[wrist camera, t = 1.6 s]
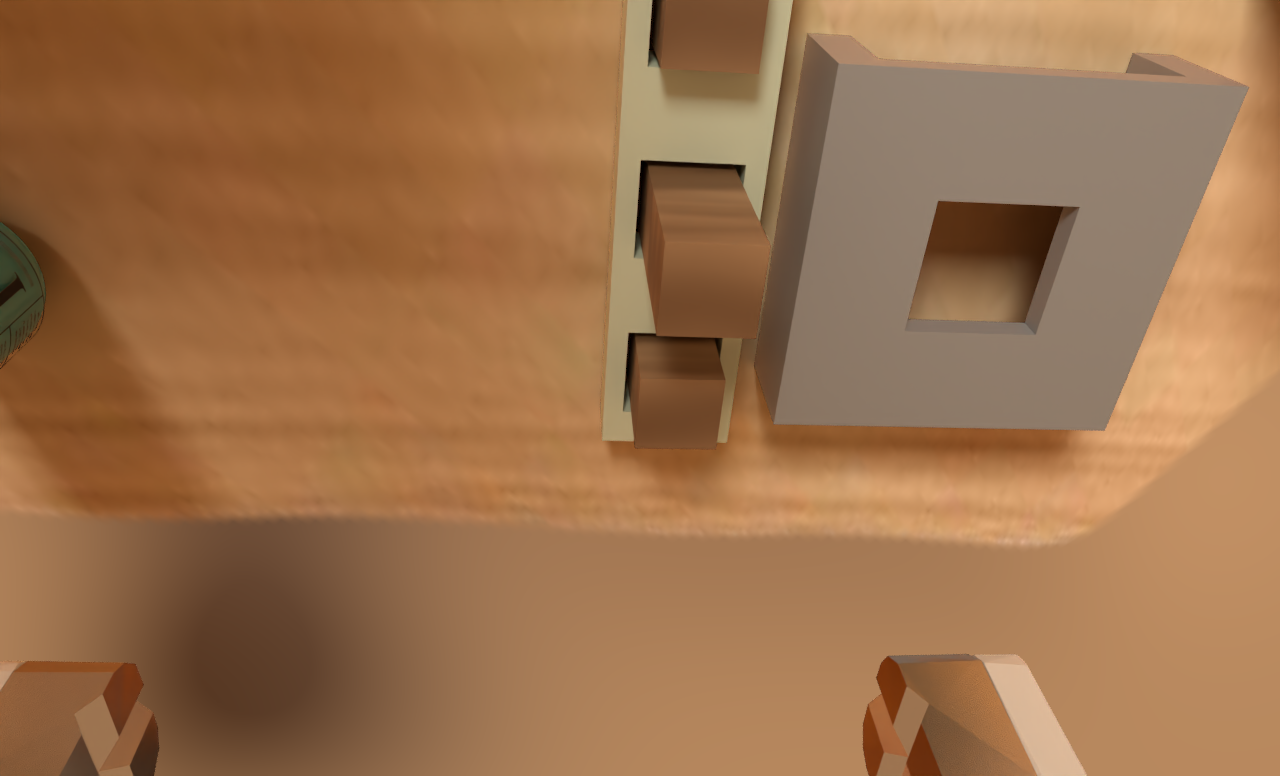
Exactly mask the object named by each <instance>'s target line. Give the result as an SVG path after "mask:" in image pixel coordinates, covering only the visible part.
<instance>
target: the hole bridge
mask: <svg viewBox="0 0 1280 776" xmlns="http://www.w3.org/2000/svg"><path fill="white" fill-rule="evenodd" d="M1248 88H1249V87H1248V86H1246V85H1243V84H1241V83H1238V82H1236V81H1234V80H1231V79H1229V78H1226V77H1224V76H1222V75H1219V74H1217V73H1214V72H1212V71H1210V70H1207V69H1205V68H1202V67H1200V66H1198V65H1195V64H1193V63H1190V62H1188V61H1186V60H1183V59H1181V58H1179V57H1176V56H1174V55H1159V54H1142V53H1133V55H1132V58H1131V60H1130V63H1129V66H1128V69H1127V72H1126V73H1114V72H1096V71H1079V70H1062V69H1045V68H1027V67H1010V66H993V65H976V64H958V63H941V62H924V61H907V60H890V59H878V58H877V57H876V56H874V55H873V54H872V53H871V52H870V51H868V50H867V49H866V48H865V47H864V46H862V45H861V44H860V43H859V42H857V41H856V40H855V39H854V38H853V37H851V36H843V35H827V34H810V33H807V39H806V45H805V51H804V58H803V64H802V70H801V76H800V83H799V89H798V95H797V101H796V108H795V114H794V120H793V126H792V133H791V139H790V145H789V151H788V158H787V164H786V170H785V176H784V183H783V189H782V195H781V201H780V208H779V214H778V220H777V226H776V233H775V239H774V245H773V251H772V258H771V264H770V270H769V276H768V283H767V289H766V295H765V301H764V308H763V314H762V320H761V326H760V333H759V339H758V345H757V351H756V358H755V364H754V367H755V370H756V373H757V376H758V379H759V382H760V385H761V388H762V391H763V394H764V397H765V400H766V403H767V406H768V409H769V412H770V415H771V418H772V421H773V424H780V425H833V426H886V427H939V428H992V429H1045V430H1098V431H1105V429H1106V426H1107V424H1108V422H1109V419H1110V417H1111V414H1112V412H1113V410H1114V407H1115V405H1116V402H1117V400H1118V398H1119V395H1120V393H1121V391H1122V388H1123V386H1124V383H1125V381H1126V379H1127V376H1128V374H1129V372H1130V369H1131V367H1132V364H1133V362H1134V360H1135V357H1136V355H1137V353H1138V350H1139V348H1140V345H1141V343H1142V341H1143V338H1144V336H1145V333H1146V331H1147V329H1148V326H1149V324H1150V322H1151V319H1152V317H1153V314H1154V312H1155V310H1156V307H1157V305H1158V303H1159V300H1160V298H1161V295H1162V293H1163V291H1164V288H1165V286H1166V284H1167V281H1168V279H1169V276H1170V274H1171V272H1172V269H1173V267H1174V264H1175V262H1176V260H1177V257H1178V255H1179V253H1180V250H1181V248H1182V245H1183V243H1184V241H1185V238H1186V236H1187V234H1188V231H1189V229H1190V226H1191V224H1192V222H1193V219H1194V217H1195V215H1196V212H1197V210H1198V207H1199V205H1200V203H1201V200H1202V198H1203V196H1204V193H1205V191H1206V188H1207V186H1208V184H1209V181H1210V179H1211V176H1212V174H1213V172H1214V169H1215V167H1216V165H1217V162H1218V160H1219V157H1220V155H1221V153H1222V150H1223V148H1224V146H1225V143H1226V141H1227V138H1228V136H1229V134H1230V131H1231V129H1232V127H1233V124H1234V122H1235V119H1236V117H1237V115H1238V112H1239V110H1240V107H1241V105H1242V103H1243V100H1244V98H1245V96H1246V93H1247V91H1248ZM938 201H953V202H976V203H999V204H1022V205H1046V206H1064V207H1063V210H1062V213H1061V216H1060V219H1059V222H1058V225H1057V228H1056V231H1055V234H1054V237H1053V240H1052V243H1051V246H1050V249H1049V252H1048V255H1047V257H1046V260H1045V263H1044V266H1043V269H1042V272H1041V275H1040V278H1039V281H1038V284H1037V287H1036V290H1035V293H1034V296H1033V299H1032V302H1031V305H1030V308H1029V311H1028V314H1027V317H1026V320H1025V323H1018V322H985V321H952V320H919V319H908V316H909V312H910V309H911V305H912V301H913V297H914V293H915V289H916V285H917V281H918V278H919V274H920V270H921V266H922V262H923V258H924V254H925V250H926V246H927V243H928V239H929V235H930V231H931V227H932V223H933V219H934V215H935V212H936V208H937V204H938Z"/></svg>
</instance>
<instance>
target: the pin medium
mask: <svg viewBox="0 0 1280 776" xmlns="http://www.w3.org/2000/svg"><path fill="white" fill-rule="evenodd" d="M627 379H628V388H629V398H630V407H631V416H632V426H633V435H634V444H635V448H654V449H716V446H717V439H718V432H719V425H720V418H721V411H722V404H723V397H724V390H725V383H726V379H725V376H724V372H723V369H722V365H721V361H720V358H719V354H718V351H717V347H716V343H715V340H714V338H710V337H674V336H656V333H630V339H629V353H628V367H627Z"/></svg>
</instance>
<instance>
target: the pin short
mask: <svg viewBox="0 0 1280 776" xmlns="http://www.w3.org/2000/svg"><path fill="white" fill-rule="evenodd" d="M768 4H769V0H654V9H653V23H652V37H651V42H652V45H653V48H654V51H655V54H656V56H657V59H658V62H659V65H660V67H661V69H675V70H693V71H711V72H729V73H746V74H759V69H760V62H761V55H762V47H763V40H764V33H765V25H766V18H767V11H768Z"/></svg>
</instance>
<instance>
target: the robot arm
mask: <svg viewBox="0 0 1280 776" xmlns="http://www.w3.org/2000/svg"><path fill="white" fill-rule="evenodd" d="M876 678H877V681H878V684H879V687H880V690H881V693H882V694H880V695H879V696H878V697H876V698H875V699H874V700H873V701H871V702H870V703H869V704H868V707H867V710H866V714H865V718H864V722H863V751H864V756H865V762H866V768H867V771H868V774H869V776H1087V774H1086V772H1085V770H1084V769H1083V767H1082V765H1081V763H1080V761H1079V759H1078V757H1077V756H1076V754H1075V752H1074V750H1073V748H1072V747H1071V745H1070V743H1069V741H1068V739H1067V737H1066V736H1065V734H1064V732H1063V730H1062V728H1061V726H1060V725H1059V723H1058V721H1057V719H1056V717H1055V715H1054V714H1053V712H1052V710H1051V708H1050V706H1049V704H1048V703H1047V701H1046V699H1045V697H1044V695H1043V694H1042V692H1041V690H1040V688H1039V686H1038V684H1037V683H1036V681H1035V679H1034V677H1033V675H1032V673H1031V672H1030V670H1029V668H1028V666H1027V664H1026V662H1025V661H1024V660H1022V659H1021V658H1020V657H1019V656H1018V655H1016V654H1015V655H969V654H953V655H904V656H903V655H902V656H887V657H886V658H885V659H884V660H883V662H882V663H881V665H880V668H879V671H878V674H877V677H876ZM143 685H144V684H143V681H142V679H141V676H140V674H139V671H138V669H137V666H136V664H134V663H118V662H62V661H61V662H60V661H0V776H154V772H155V768H156V762H157V757H158V752H159V737H158V726H157V723H156V720H155V717H154V714H153V712H152V711H150V710H149V709H148V708H146V707H145V706H143V705H142V704H140V703H139V702H138V701H136V700H137V698H138V696H139V694H140V692H141V689H142V688H143Z"/></svg>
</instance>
